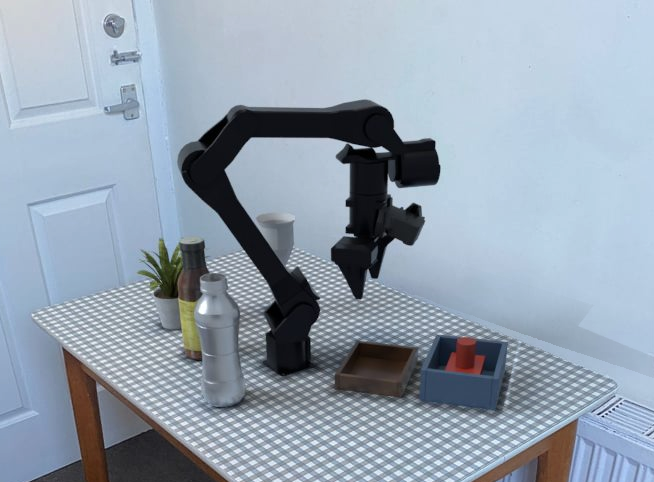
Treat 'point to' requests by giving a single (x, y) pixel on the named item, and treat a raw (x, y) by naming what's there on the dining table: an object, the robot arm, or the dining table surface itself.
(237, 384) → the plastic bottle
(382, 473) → the dining table surface
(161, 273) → the house plant
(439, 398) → the tote
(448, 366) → the brush
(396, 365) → the brown wooden tray
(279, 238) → the chalice
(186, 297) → the sauce bottle
